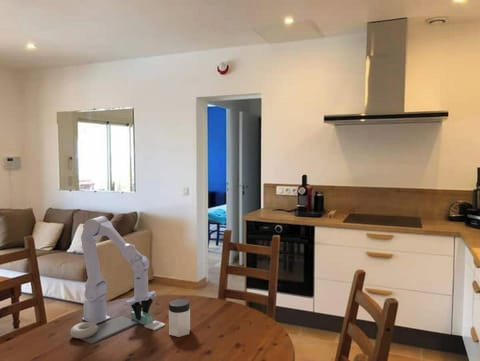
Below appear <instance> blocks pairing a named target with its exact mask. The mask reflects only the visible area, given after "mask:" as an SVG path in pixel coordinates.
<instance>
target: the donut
mask: <svg viewBox="0 0 480 361" xmlns="http://www.w3.org/2000/svg"><path fill="white" fill-rule="evenodd" d="M97 325H98V324H95V323H93V322H88V321H83V322H79V323H77V324H75V325H74V326H72V327H71V329H70V332H69V333H70V335H71V337H73V338H75V339H79V338H87V337H90V336H92V335H94V334H95V333H96V332H97V330H98V326H97Z"/></svg>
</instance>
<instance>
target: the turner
mask: <svg viewBox="0 0 480 361" xmlns="http://www.w3.org/2000/svg"><path fill="white" fill-rule="evenodd" d="M153 318H154V316H153V314H150V313H149V312H148V313H145V312H142V310H141V320H138V319H136V316H135V313H134V310H132V311H130V319H132V320H135V321H137V322H138V324H141V325H144V326H143V327H144V328H147V329H150V330H153V332H155V331H157V330H159V329H161V328H162V327H163V328H164V326H166V323H164V322H161V321H158V320H153Z"/></svg>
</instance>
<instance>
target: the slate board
mask: <svg viewBox="0 0 480 361" xmlns="http://www.w3.org/2000/svg"><path fill="white" fill-rule="evenodd" d="M138 324H139V323H138V322H137V321H135V320H132V319H131V318H129V317H126V316H123V315H120V316H117V317H115V318H112V319H110V320H106V321H105V322H103V323H102V322H101V324H96V325H97V326H98V330H97V332H96V333H95V334H94V335H92V336H90V337H87V338H78V339H79V340H81V341H83V342H86V343H88V344H90V345H93V344H95V343H99V342H100V341H102V340H104V339H106V338H109V337H112V336H113V335H116V334H118V333H120V332H123V331H124V330H127V329H129V328H132V327H134V326H136V325H138Z"/></svg>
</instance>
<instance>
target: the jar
mask: <svg viewBox="0 0 480 361" xmlns="http://www.w3.org/2000/svg"><path fill="white" fill-rule="evenodd" d="M190 303H191V302H190V300H188V299H184V298H176V299H173V300H170V301H169V303H168V309H169V310H168V334H169V335H170V336H174V337H178V338H179V337H184V336H187V335H190V332H191V304H190Z"/></svg>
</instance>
